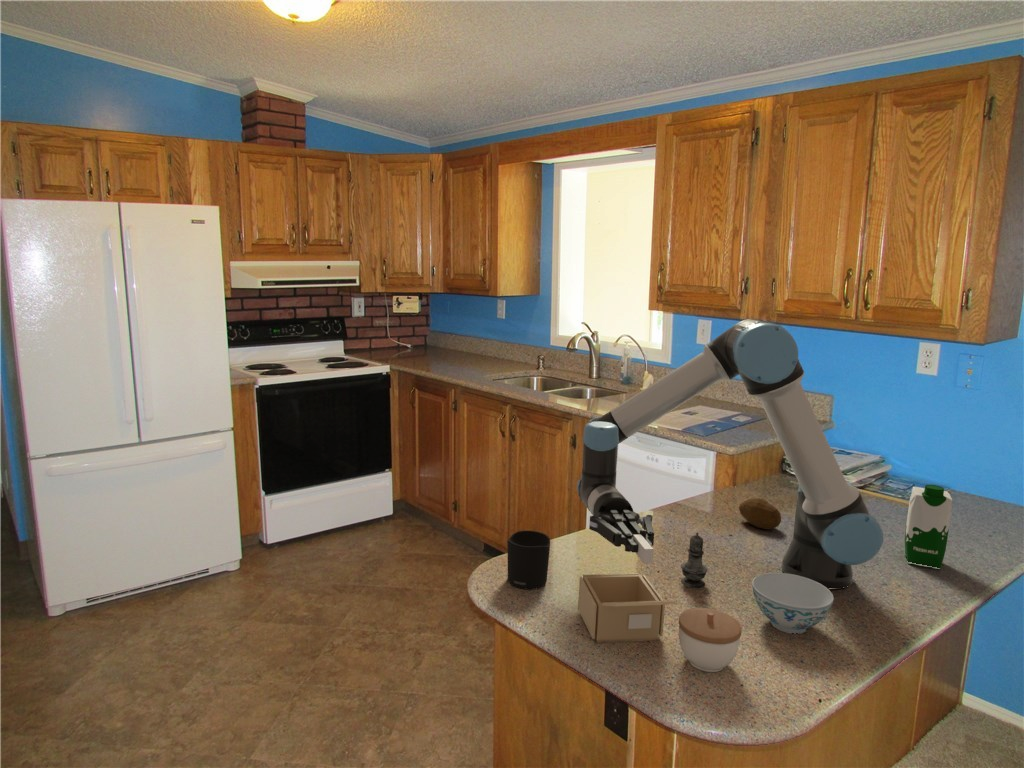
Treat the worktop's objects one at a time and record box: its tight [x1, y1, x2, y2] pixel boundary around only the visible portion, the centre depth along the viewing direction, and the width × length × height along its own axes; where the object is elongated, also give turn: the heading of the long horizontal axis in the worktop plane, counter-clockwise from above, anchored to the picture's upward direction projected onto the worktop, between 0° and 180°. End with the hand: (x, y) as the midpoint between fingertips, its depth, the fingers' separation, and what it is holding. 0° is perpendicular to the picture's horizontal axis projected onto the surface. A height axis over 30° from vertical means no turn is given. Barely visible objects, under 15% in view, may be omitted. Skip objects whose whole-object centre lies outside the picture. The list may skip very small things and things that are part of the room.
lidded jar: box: [678, 607, 742, 673], centre depth 121 cm, size 11×11×9 cm
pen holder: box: [507, 530, 551, 590], centre depth 150 cm, size 9×9×10 cm
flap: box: [602, 600, 677, 606], centre depth 122 cm, size 11×1×8 cm
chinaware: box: [751, 572, 835, 635], centre depth 135 cm, size 15×15×8 cm
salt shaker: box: [680, 531, 709, 589], centre depth 152 cm, size 6×6×12 cm
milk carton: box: [904, 484, 953, 569], centre depth 168 cm, size 9×9×20 cm
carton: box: [577, 572, 666, 644], centre depth 133 cm, size 14×13×8 cm
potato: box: [738, 498, 782, 530], centre depth 190 cm, size 8×12×8 cm, turn 45°
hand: (648, 556), depth 117 cm, fingers closed
